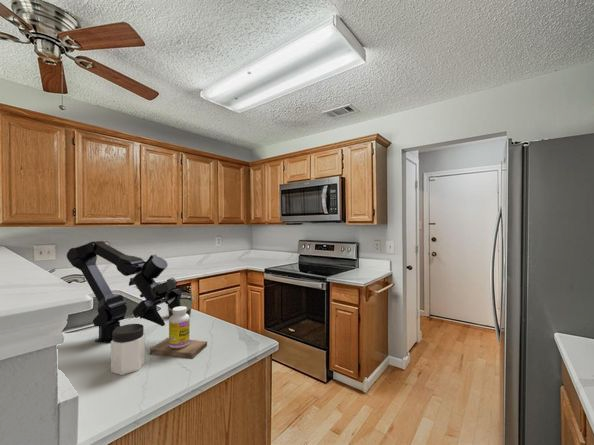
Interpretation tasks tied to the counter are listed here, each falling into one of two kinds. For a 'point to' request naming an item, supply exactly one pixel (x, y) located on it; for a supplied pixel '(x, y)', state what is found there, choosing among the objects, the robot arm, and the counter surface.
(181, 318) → the supplement bottle
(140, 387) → the counter surface
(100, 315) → the robot arm
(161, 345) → the walnut board
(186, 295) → the food container
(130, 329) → the jar
